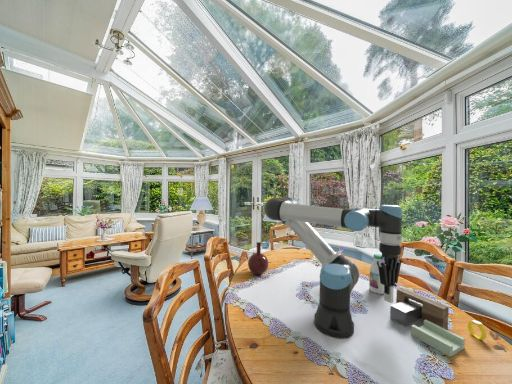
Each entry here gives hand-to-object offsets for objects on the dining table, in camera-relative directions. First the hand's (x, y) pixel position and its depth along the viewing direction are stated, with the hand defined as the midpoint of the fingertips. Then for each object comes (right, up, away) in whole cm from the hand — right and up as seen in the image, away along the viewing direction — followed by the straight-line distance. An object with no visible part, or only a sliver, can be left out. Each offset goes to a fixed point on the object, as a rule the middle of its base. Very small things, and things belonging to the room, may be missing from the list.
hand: (388, 301), depth 86 cm
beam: (+18, -11, +7) cm, 23 cm away
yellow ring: (+31, -12, -5) cm, 33 cm away
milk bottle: (+13, -11, +31) cm, 36 cm away
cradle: (+13, -11, -8) cm, 19 cm away
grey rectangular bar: (+14, -11, +7) cm, 19 cm away
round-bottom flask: (-53, -9, +51) cm, 74 cm away
